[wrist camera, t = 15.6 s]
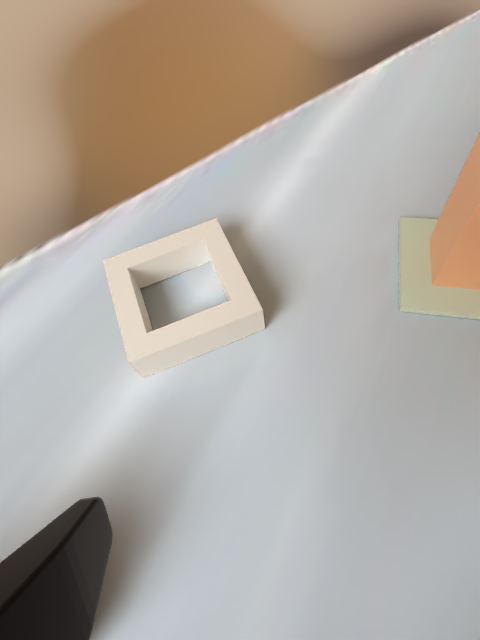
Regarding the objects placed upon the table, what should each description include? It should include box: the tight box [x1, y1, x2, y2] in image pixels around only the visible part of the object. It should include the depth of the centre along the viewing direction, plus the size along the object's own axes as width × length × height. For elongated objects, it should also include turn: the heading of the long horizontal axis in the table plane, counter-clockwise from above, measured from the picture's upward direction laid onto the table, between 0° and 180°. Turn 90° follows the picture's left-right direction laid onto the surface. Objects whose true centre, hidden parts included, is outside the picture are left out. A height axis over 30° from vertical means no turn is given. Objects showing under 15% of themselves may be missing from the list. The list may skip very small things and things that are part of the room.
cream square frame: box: [103, 218, 265, 378], centre depth 25 cm, size 9×9×2 cm
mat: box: [399, 217, 480, 320], centre depth 25 cm, size 8×8×1 cm
